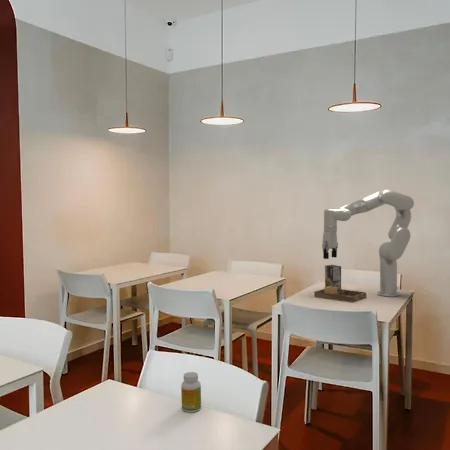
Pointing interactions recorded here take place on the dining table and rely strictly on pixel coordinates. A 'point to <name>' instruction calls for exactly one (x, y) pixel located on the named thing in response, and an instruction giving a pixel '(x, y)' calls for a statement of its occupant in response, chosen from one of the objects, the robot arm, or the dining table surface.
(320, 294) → the organiser
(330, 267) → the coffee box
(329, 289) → the marked cube
